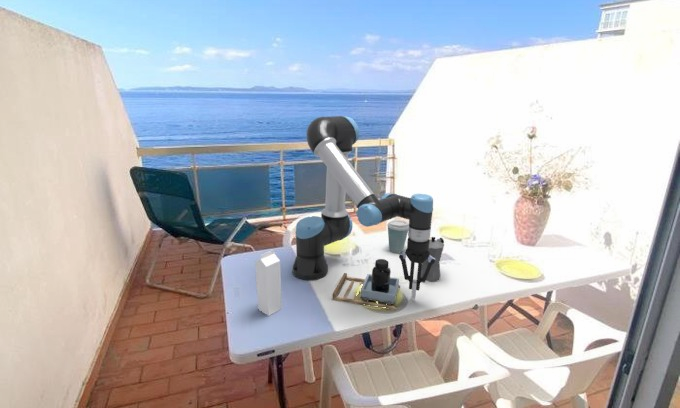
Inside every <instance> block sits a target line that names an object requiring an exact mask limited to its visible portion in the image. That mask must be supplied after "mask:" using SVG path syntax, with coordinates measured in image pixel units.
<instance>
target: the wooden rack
mask: <svg viewBox="0 0 680 408" xmlns="http://www.w3.org/2000/svg"><path fill="white" fill-rule="evenodd" d="M365 279H366V278H359V277H352V276H348V273H347V272H344V273H343V274H342V276H341V278H340V279H339V281H338V283H337V285H336V287H335V289H334V290H333V292H332V294H331V295H332V298H331V299H332V301H338V302H343V303H349V304H355V305H362V306H366V305H370V306H369V307H371V306H378V307H386V308H389V309H388V310H390V311H393V312H394V311H396V306H393V305H391V306H389V305H386V304H383V303H378V304H377V303H375V302H373V301H372V302H370V301H368V302H366V301H363V300H360V299H359V300H358V299H357V298H359V297H360V294H358V295H357V296H356V294H355V295H354V298H348V296H349V294H350V292H351V290H352V287H353V286H354V283H355V282H359V283H360V284H359V286H360V285H361V284H363V283H364V281H365ZM346 281H350V283H349V285H348V287H347V289H346V291H345V293H344V295H343V297H342V296H339V294H340V292H341V290H342V289H343V286H344V285H345V283H346ZM400 288H401V284H399V287H398V289H400ZM363 304H365V305H363Z"/></svg>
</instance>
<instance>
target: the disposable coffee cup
mask: <svg viewBox="0 0 680 408" xmlns="http://www.w3.org/2000/svg"><path fill="white" fill-rule="evenodd" d="M386 226H387V234H388V249H389V251H390V252H391V253H394V254H400V253H403V251H404V248H405V244H406V242H407V241H406V240H407V238H408V230H409V222H408V221H405V220H396V219H395V220H390V221H388V223H387V225H386Z"/></svg>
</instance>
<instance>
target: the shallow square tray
mask: <svg viewBox="0 0 680 408" xmlns="http://www.w3.org/2000/svg"><path fill="white" fill-rule="evenodd" d="M364 279H365V281H364V283H363V286H362V288H361V292H360V294H359V298H360V299H362V301H366V302H367V301H368V302H369V301H379V303H380V302H381V303H385V304H386V303H387V305H389V306H392V305H395V304H396V301H397V300H396V299H397V295H398V291H399V288H398V287H399V285H400V278H397V277H391V276H390V286H389V292H388V293H383V292H377V291H372V290H371V283H372V273H371V274H370V273H368V274H366V277H365V278H364Z"/></svg>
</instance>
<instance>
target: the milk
mask: <svg viewBox="0 0 680 408" xmlns="http://www.w3.org/2000/svg"><path fill="white" fill-rule="evenodd" d="M254 267H255V278H256V279H255V281H256V282H255V283H256V296H257V297H256V298H257V310H258V309H259V310H258V311H260V312H261V311H262V313H263V314H265V315H266V314H267V315H266V316H268V317H269V316H271V315H274V313H277V312H279V311H280V310H282V308H283V303H282V302H283V301H282V297H283V296H282V280H281V279H282V278H281V277H282V276H281V260H280V259H279V258H278V256H277V255H276V254H275V250H274V249H272V250H269V251H266V252H265V253H262V254H260V255H259V259H258V260H255V262H254Z"/></svg>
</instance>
